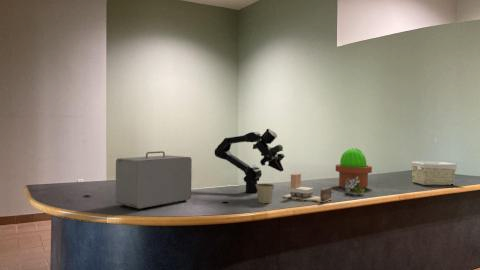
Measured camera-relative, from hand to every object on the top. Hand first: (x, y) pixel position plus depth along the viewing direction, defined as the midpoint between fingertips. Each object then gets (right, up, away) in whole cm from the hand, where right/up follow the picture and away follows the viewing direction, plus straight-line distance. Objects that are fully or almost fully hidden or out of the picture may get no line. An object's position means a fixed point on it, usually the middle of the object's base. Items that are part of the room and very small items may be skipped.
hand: (282, 170), depth 202 cm
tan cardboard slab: (+12, -14, -8) cm, 20 cm away
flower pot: (-11, -14, -18) cm, 25 cm away
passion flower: (+42, -14, +8) cm, 45 cm away
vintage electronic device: (-64, -14, -24) cm, 70 cm away
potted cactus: (+49, -14, +35) cm, 61 cm away
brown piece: (+10, -13, -6) cm, 17 cm away
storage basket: (+109, -14, +53) cm, 122 cm away
